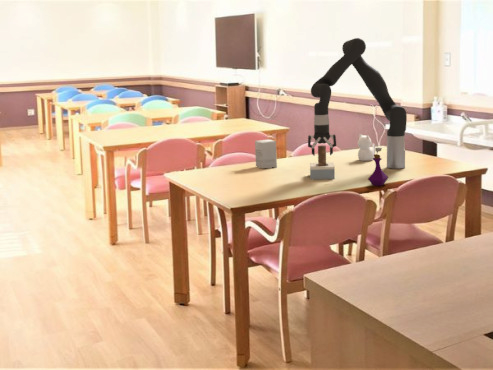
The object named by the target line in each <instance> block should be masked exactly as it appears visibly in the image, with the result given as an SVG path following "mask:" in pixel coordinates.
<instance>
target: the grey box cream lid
mask: <svg viewBox="0 0 493 370" xmlns="http://www.w3.org/2000/svg"><path fill="white" fill-rule="evenodd" d="M335 170H336V169H335V164H334V162H326V166H318V162H309V171H310V172H309V173H310V174H309V175H310V176H309V177H310V180H335V179H336V178H335V174H336V173H335Z"/></svg>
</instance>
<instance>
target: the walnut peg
mask: <svg viewBox="0 0 493 370" xmlns="http://www.w3.org/2000/svg"><path fill="white" fill-rule="evenodd" d="M317 163H318V166H326V163H327V146H326V145H323V144H322V145H321V144H319V145H317Z"/></svg>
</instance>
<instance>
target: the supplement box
mask: <svg viewBox="0 0 493 370" xmlns="http://www.w3.org/2000/svg"><path fill="white" fill-rule="evenodd" d="M254 146H255V147H254V149H255V154H254V155H255V167H256V166H257V167H256V168H258V167H260V168H259V169H261V168H268V169H273V168H272V167H276V168H277V167H278V166H277V165H278V163H277V159H278V158H277V141H276V140H273V139H269V138H268V139H260V140H254Z"/></svg>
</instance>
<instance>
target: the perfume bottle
mask: <svg viewBox="0 0 493 370" xmlns="http://www.w3.org/2000/svg"><path fill="white" fill-rule="evenodd" d="M375 148H376V149H375V154H374V158H373V159H372V160H373V162H374V163H375V169H374V171H373V172H372V173H371V175H370V176H369V177H368V179H367V180H368V182H370V184H371V185H372V186H376V187H382V186H384V185H385V184H386V182H387V180H388V179H389V177H388V175H387V174H386V173H385V172H384V171H383V170H382V167H381V165H380V164H381V163H380V162H381V160H382V157H381V155H380V154H378V153H379V152H381V151H382V147H375Z"/></svg>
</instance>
